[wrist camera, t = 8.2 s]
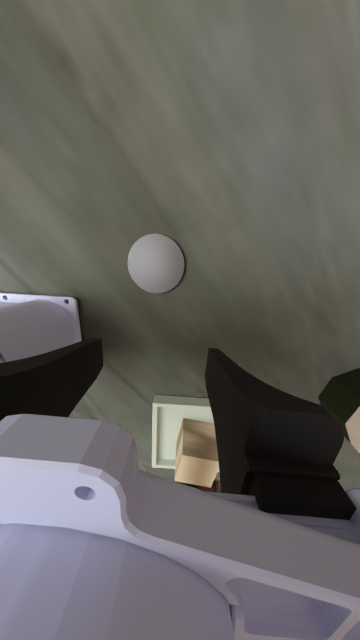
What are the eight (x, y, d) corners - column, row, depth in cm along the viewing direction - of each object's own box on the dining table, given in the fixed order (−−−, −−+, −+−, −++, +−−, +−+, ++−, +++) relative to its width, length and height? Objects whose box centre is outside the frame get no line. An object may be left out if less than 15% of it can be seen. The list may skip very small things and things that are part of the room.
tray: (153, 456, 28) (151, 467, 27) (154, 394, 24) (152, 402, 23) (229, 462, 28) (232, 473, 27) (242, 400, 24) (245, 409, 23)
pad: (129, 291, 20) (128, 291, 20) (127, 232, 18) (126, 232, 18) (182, 294, 20) (182, 295, 20) (186, 235, 18) (186, 235, 18)
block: (176, 441, 26) (174, 481, 21) (183, 417, 25) (182, 455, 20) (206, 446, 26) (210, 487, 21) (214, 423, 25) (221, 462, 20)
